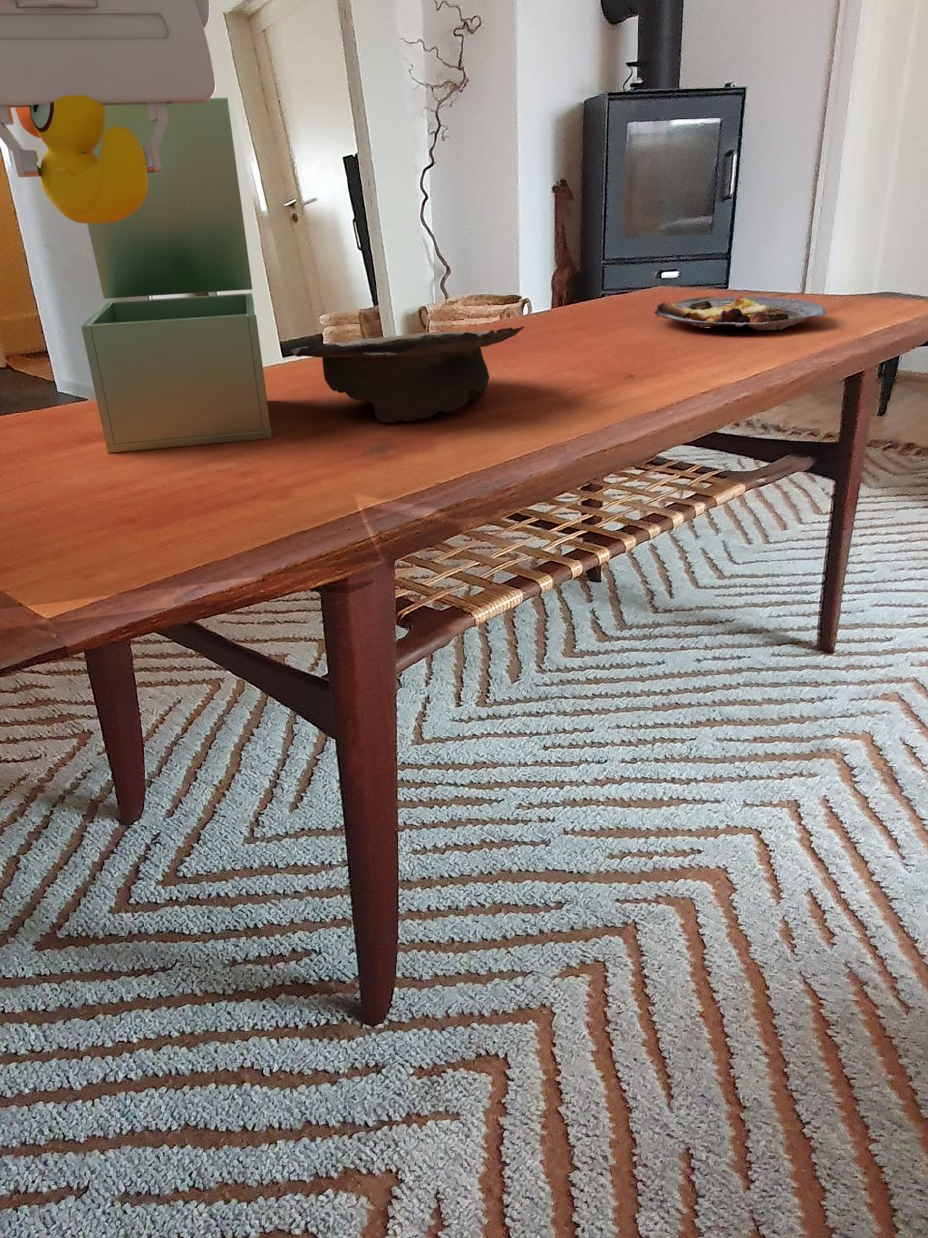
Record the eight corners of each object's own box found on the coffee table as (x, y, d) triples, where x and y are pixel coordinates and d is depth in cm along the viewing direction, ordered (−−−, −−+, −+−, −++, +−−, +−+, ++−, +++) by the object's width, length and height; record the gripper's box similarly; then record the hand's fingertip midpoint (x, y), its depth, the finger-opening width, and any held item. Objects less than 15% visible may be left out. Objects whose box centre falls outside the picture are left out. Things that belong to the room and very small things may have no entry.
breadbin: (271, 438, 92) (255, 314, 87) (107, 453, 90) (81, 325, 84) (266, 399, 108) (252, 292, 103) (126, 411, 105) (104, 302, 100)
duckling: (13, 225, 73) (-19, 77, 68) (68, 221, 77) (41, 81, 72) (120, 225, 68) (93, 66, 63) (173, 221, 72) (150, 71, 68)
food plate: (719, 342, 130) (721, 316, 128) (625, 322, 149) (626, 299, 147) (855, 324, 139) (858, 300, 137) (750, 307, 158) (752, 285, 156)
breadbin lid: (227, 98, 91) (227, 92, 95) (60, 102, 89) (66, 96, 92) (252, 289, 102) (250, 277, 106) (103, 298, 99) (107, 286, 103)
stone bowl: (442, 441, 88) (430, 340, 84) (253, 431, 101) (235, 344, 97) (563, 384, 106) (558, 299, 102) (390, 383, 120) (379, 307, 116)
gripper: (201, -36, 70) (228, 169, 76) (-100, -40, 65) (-45, 179, 71) (204, -54, 64) (233, 168, 71) (-124, -59, 60) (-63, 180, 66)
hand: (91, 174), depth 71 cm, fingers closed on duckling, 7 cm apart
